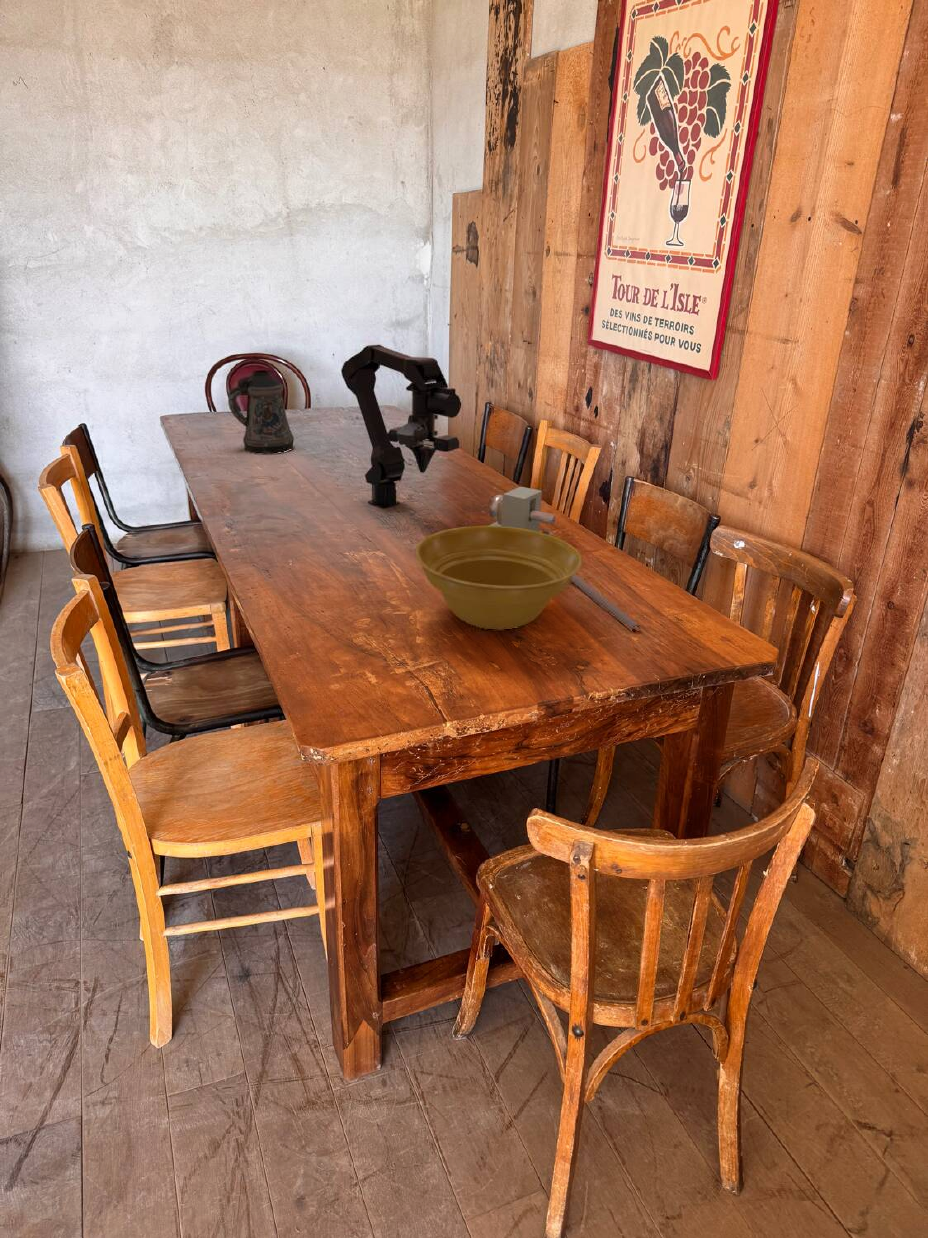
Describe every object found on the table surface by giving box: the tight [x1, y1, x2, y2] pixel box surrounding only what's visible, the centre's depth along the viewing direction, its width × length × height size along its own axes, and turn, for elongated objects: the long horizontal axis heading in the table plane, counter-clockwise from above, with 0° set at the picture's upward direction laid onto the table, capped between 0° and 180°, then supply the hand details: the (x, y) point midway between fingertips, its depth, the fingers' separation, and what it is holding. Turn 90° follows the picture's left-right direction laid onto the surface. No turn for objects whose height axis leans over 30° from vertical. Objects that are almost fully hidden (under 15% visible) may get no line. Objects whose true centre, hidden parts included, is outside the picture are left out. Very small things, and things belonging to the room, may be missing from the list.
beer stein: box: [227, 369, 295, 454], centre depth 275 cm, size 16×19×25 cm
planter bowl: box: [414, 525, 583, 630], centre depth 164 cm, size 32×32×13 cm
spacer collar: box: [497, 501, 503, 523], centre depth 209 cm, size 2×5×5 cm, turn 147°
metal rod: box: [570, 573, 641, 630], centre depth 174 cm, size 2×27×2 cm, turn 20°
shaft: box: [489, 494, 556, 525], centre depth 207 cm, size 16×6×6 cm, turn 57°
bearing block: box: [488, 486, 554, 537], centre depth 208 cm, size 16×9×12 cm, turn 57°
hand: (422, 472), depth 216 cm, fingers closed
